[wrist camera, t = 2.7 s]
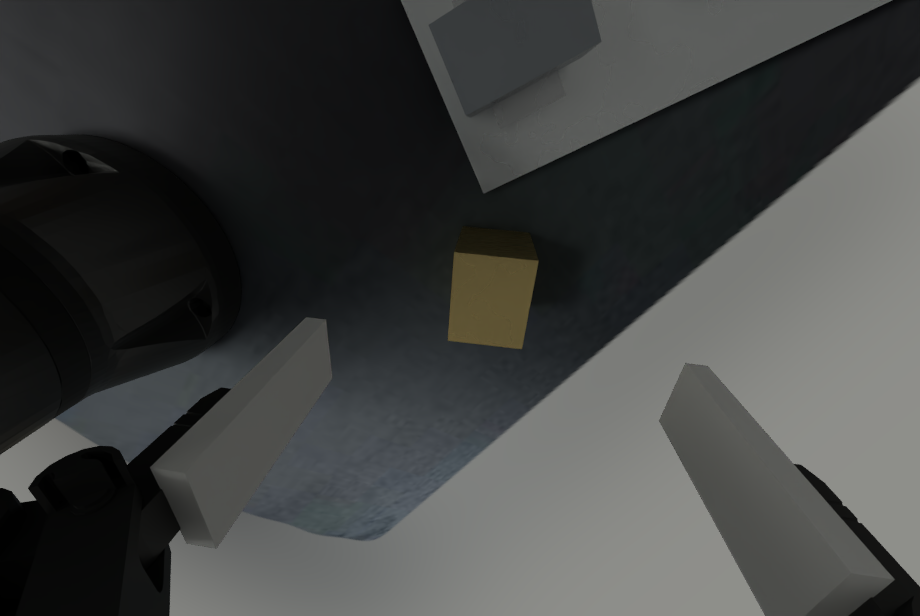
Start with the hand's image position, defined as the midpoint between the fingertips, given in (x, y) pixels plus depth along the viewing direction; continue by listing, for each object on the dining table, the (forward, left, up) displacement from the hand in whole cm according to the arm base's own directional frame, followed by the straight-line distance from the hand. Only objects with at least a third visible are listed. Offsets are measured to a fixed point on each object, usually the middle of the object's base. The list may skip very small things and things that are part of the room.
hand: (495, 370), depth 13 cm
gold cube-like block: (0, 0, -10) cm, 10 cm away
